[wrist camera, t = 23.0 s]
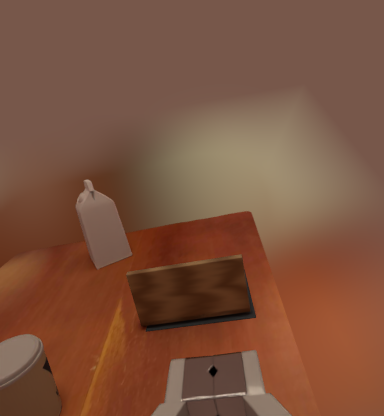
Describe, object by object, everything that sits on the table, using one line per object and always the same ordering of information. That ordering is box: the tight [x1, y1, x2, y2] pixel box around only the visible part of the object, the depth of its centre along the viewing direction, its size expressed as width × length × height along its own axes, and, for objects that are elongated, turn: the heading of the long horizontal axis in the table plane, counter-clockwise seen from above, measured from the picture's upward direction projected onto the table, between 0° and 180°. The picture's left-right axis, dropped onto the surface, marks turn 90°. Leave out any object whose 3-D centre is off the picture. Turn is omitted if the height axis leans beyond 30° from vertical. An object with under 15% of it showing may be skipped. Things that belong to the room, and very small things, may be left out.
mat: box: [146, 270, 256, 331], centre depth 64 cm, size 22×18×1 cm
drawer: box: [126, 255, 250, 326], centre depth 61 cm, size 22×14×13 cm, turn 88°
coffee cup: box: [0, 334, 62, 416], centre depth 41 cm, size 9×9×12 cm
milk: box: [76, 180, 132, 269], centre depth 91 cm, size 12×12×26 cm
